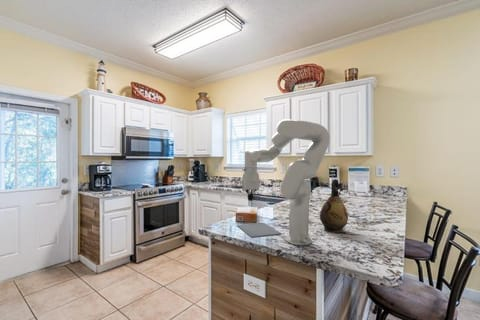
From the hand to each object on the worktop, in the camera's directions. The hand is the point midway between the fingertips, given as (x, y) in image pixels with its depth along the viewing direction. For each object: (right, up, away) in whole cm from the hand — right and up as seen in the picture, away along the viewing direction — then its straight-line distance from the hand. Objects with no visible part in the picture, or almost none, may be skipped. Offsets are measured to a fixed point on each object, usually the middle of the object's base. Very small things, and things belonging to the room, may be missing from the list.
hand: (250, 200), depth 143 cm
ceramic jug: (+49, -17, -3) cm, 52 cm away
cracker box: (-2, -13, +10) cm, 16 cm away
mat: (+4, -16, -6) cm, 18 cm away
